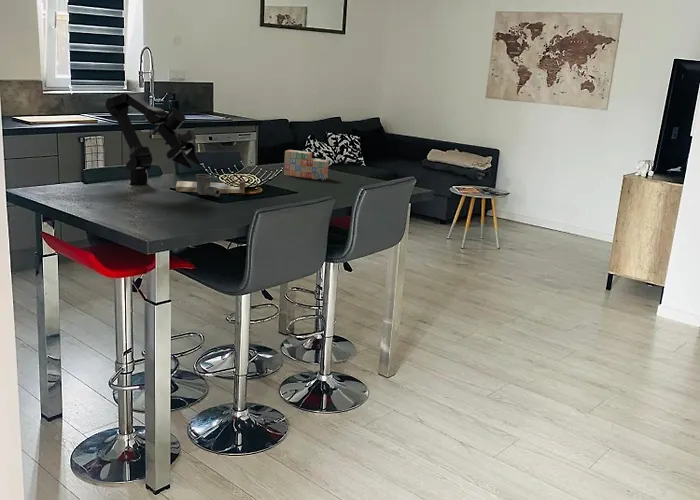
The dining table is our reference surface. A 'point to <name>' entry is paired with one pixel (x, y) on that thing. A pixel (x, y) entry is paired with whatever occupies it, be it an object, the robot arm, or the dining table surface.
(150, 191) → the dining table surface
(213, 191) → the pipe
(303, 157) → the stack of blocks
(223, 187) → the roller board
